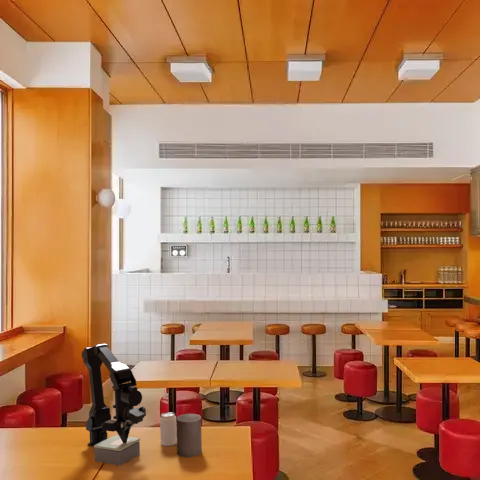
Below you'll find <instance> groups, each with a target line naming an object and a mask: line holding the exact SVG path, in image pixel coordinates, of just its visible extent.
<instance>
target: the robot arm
mask: <svg viewBox="0 0 480 480" xmlns="http://www.w3.org/2000/svg"><path fill="white" fill-rule="evenodd" d="M81 358H82V361H83V364H84V366H85V367H86V368H87V370H88V378H89V387H90V396H91V407H90V408H89V411H88V419H87V421H86V423H85V424H84V425H85V430H86V431H87V432H89V442H88V443H87V444H86V445H87V446H92V447H94V445H96V444H98V443H100V442H102V441H104V440H106V439H108V432H116V433H117V435H118V436H119V437H120V438H121V440H122V442H123V443H127V439H128V437H129V436H130V431H131V428H132V427H133V426H134V425H137V424H139V423H140V422H141V423H142V422H143V420H144V418H145V417H146V416H147V413H146V412H147V410H146V407H145V406H144V405H143V406H142V405H141V402H142V401H143V395H142V392H141V391H140V390H138V387H137V380H136V378H135V376H134V374H133V371H132V369H131V368H130V367H129V366H127V364H125V363H122V362H120V361H119V360H118V358H117V357H116V356H115V355H114V353H113V352H112V351H111V350H110V348H109V345H108V344H107V343H99V344H96V345H94V346H87V347H84V348H83V350H82V351H81ZM103 364H104V366H105V367H106V369H107V370H108V372H109V377H108V378H110V381H111V384H112V389H113V390H114V404H113V405H112V409H114V410H115V414H114V415H113V419H112V415H111V409H110V407H109V406H107V404H105V398H104V396H105V395H104V388H103V380H102V378H103V377H102V369H101V367H102V365H103ZM139 405H141V406H140V407H139V408H135V407H137V406H139Z"/></svg>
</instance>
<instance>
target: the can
mask: <svg viewBox="0 0 480 480" xmlns="http://www.w3.org/2000/svg"><path fill="white" fill-rule="evenodd" d="M176 419H177V416H176V413H175V412H171V411H169V412H162V413H161V414H160V419H159V427H160V429H159V431H160V434H159V435H160V444H161V446H162V447H173V446H175V445H177V422H176Z"/></svg>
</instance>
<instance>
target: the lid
mask: <svg viewBox="0 0 480 480" xmlns="http://www.w3.org/2000/svg"><path fill="white" fill-rule="evenodd" d="M138 441H139V442H140V441H141V438H139V437H134V436H133V437H132V436H128V439H127V443H123V442H122V440H121V438H120V437H119V435H118V434H114V435H112V436H110V437H107V439H106V440H104V441H102V442H100V443H98V444H96V445H94V446H93V448H101V449H108V450H115V451H121V450H123V449H125V448H127V447H129V446H131V445H132V444H134V443H136V442H138Z"/></svg>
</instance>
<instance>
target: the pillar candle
mask: <svg viewBox="0 0 480 480" xmlns="http://www.w3.org/2000/svg"><path fill="white" fill-rule="evenodd" d="M176 430H177V443H176V454H177V456H179V457H182V458H193V457H198V456H200V455H201V454H202V452H203V451H202V449H203V447H202V444H203V442H202V416H201V415H200V414H196V413H184V414H180V415H178V416H176Z"/></svg>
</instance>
